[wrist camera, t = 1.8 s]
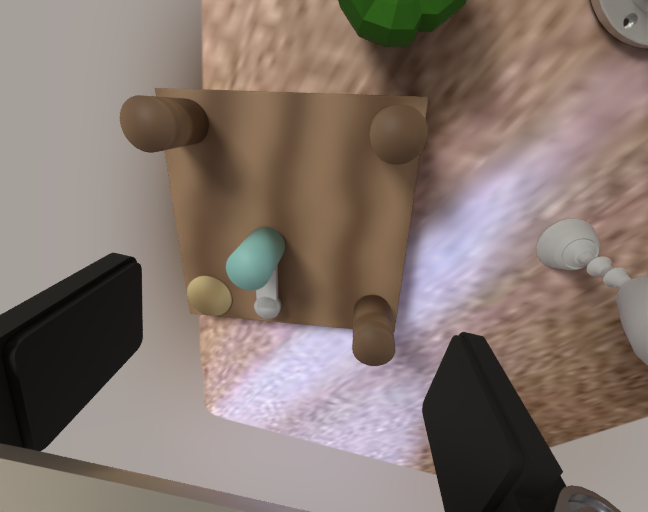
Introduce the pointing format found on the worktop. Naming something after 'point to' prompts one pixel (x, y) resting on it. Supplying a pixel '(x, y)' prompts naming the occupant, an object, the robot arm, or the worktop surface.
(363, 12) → the bell pepper
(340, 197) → the footstool
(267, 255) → the cylinder
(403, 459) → the worktop surface
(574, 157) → the worktop surface
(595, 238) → the chalice
